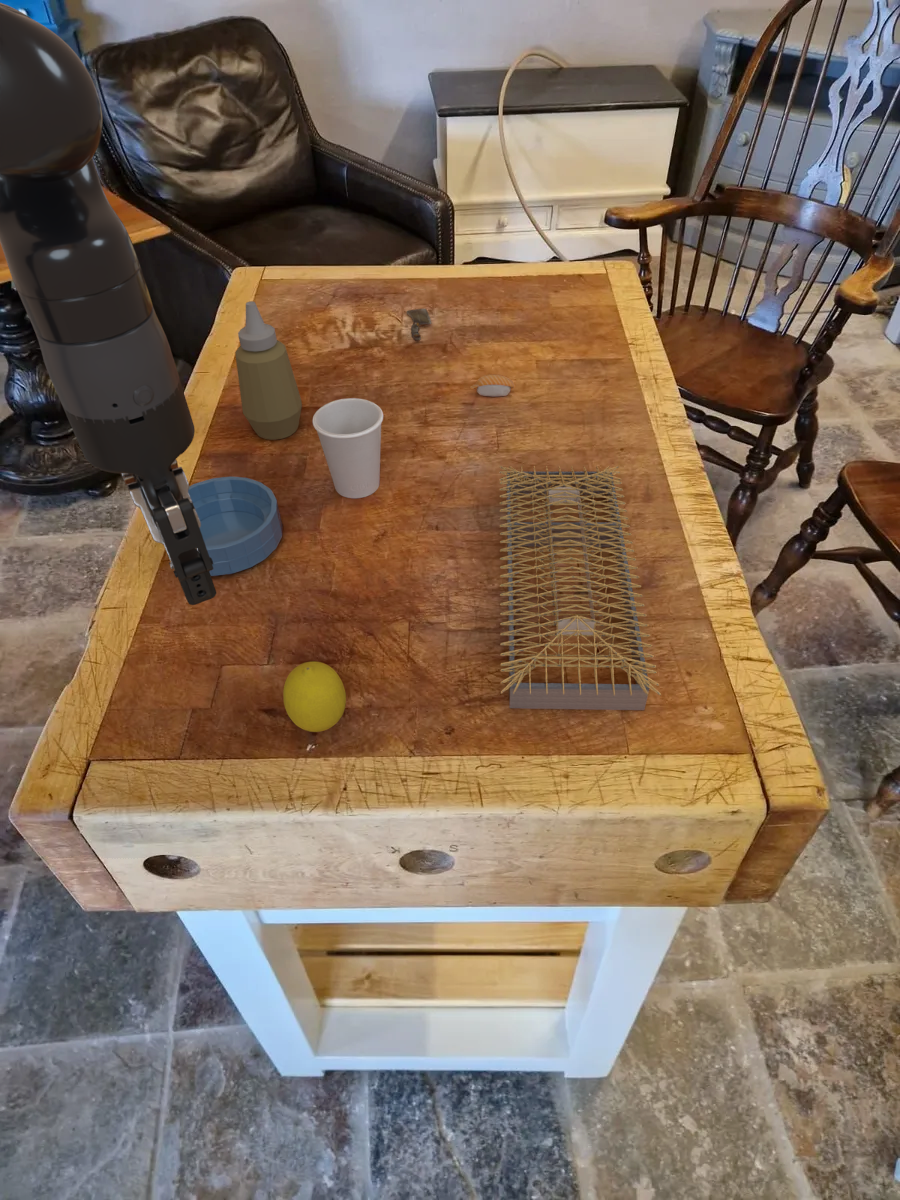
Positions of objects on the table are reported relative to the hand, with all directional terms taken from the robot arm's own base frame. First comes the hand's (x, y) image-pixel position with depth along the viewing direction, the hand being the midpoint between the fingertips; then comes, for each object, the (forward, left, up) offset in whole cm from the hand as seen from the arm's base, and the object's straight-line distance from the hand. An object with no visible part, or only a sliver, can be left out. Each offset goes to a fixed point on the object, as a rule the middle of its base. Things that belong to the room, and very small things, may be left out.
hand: (186, 566), depth 63 cm
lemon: (+2, -8, -19) cm, 21 cm away
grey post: (+76, +23, -18) cm, 81 cm away
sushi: (+62, +3, -19) cm, 65 cm away
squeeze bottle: (+41, +26, -19) cm, 52 cm away
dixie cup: (+35, +9, -19) cm, 41 cm away
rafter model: (+29, -22, -19) cm, 41 cm away
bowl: (+19, +17, -18) cm, 31 cm away
